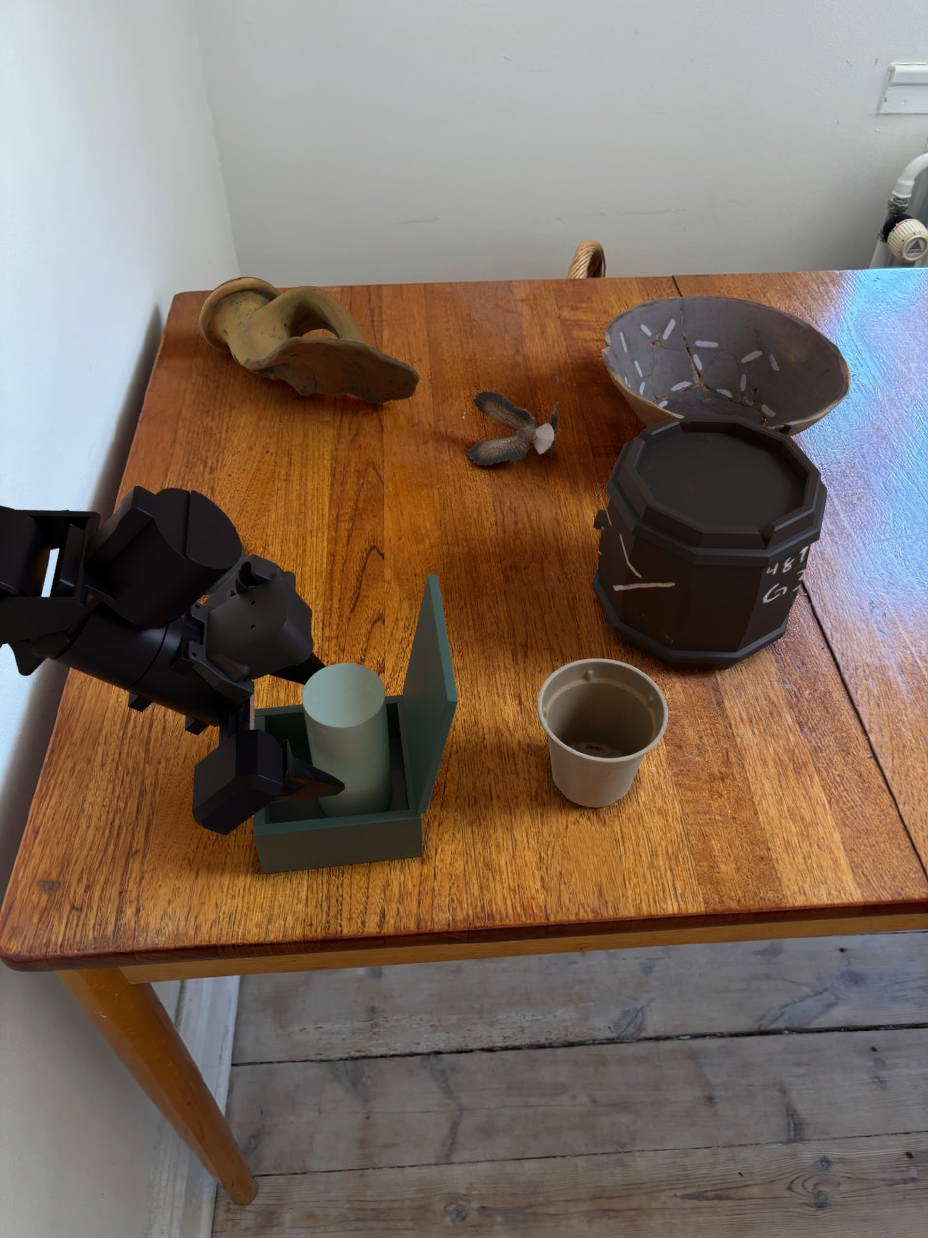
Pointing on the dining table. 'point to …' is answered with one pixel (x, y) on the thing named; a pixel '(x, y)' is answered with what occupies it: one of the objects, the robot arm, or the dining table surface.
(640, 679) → the flower pot
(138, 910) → the dining table surface
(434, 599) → the box lid
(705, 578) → the black polygonal canister
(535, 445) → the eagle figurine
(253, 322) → the brown looped sculpture
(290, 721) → the box
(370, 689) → the pale green cylinder
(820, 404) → the bowl
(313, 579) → the dining table surface
